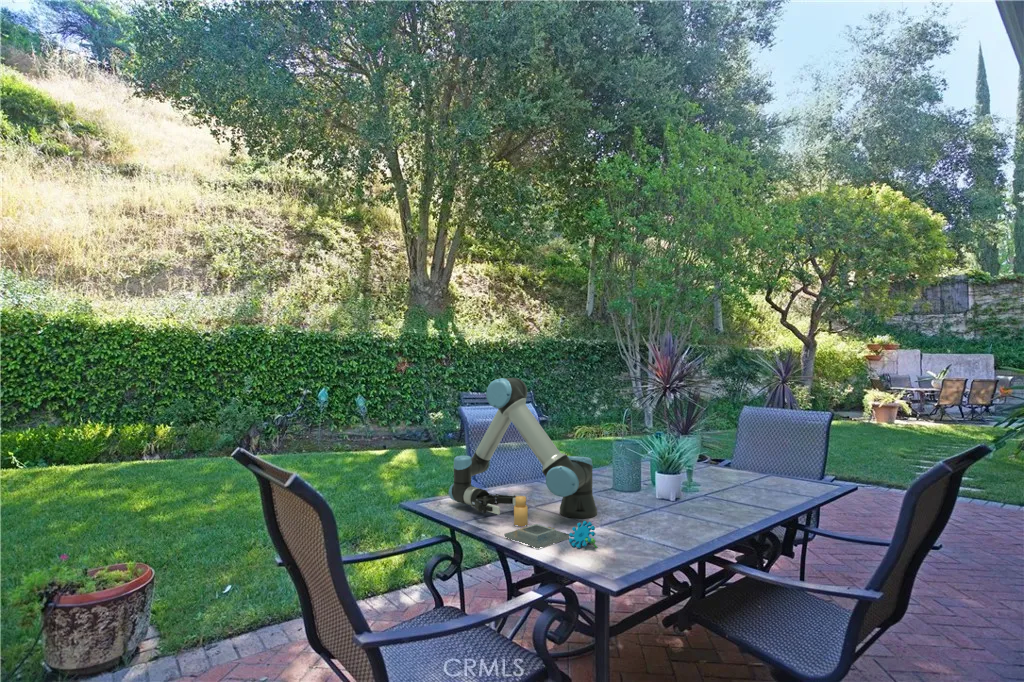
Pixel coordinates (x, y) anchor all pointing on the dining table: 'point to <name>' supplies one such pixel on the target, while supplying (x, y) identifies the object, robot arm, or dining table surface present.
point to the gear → (582, 535)
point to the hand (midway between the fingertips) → (512, 507)
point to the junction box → (537, 535)
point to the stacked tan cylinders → (520, 511)
